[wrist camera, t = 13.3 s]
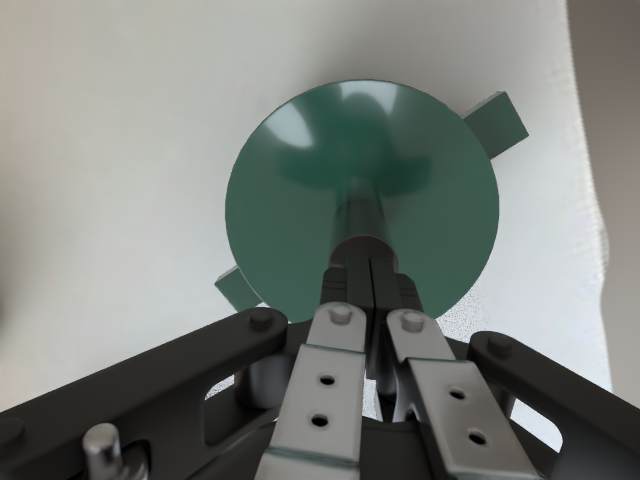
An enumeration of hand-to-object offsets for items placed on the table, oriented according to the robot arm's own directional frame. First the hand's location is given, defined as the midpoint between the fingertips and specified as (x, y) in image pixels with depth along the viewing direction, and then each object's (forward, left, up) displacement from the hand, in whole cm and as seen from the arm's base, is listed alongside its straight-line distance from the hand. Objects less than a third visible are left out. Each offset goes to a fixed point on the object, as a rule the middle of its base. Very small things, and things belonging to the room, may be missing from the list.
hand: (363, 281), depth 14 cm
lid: (0, 0, -7) cm, 7 cm away
